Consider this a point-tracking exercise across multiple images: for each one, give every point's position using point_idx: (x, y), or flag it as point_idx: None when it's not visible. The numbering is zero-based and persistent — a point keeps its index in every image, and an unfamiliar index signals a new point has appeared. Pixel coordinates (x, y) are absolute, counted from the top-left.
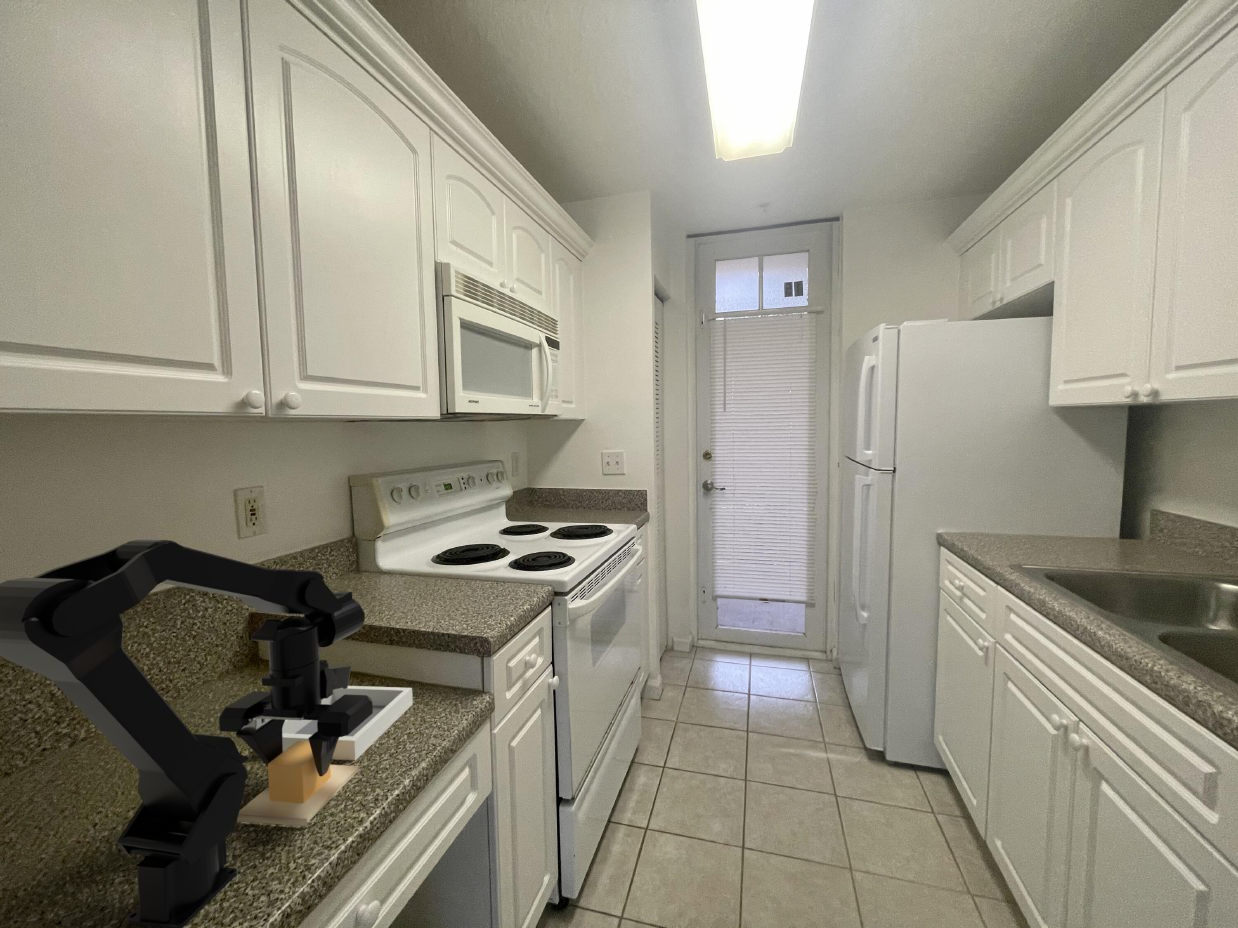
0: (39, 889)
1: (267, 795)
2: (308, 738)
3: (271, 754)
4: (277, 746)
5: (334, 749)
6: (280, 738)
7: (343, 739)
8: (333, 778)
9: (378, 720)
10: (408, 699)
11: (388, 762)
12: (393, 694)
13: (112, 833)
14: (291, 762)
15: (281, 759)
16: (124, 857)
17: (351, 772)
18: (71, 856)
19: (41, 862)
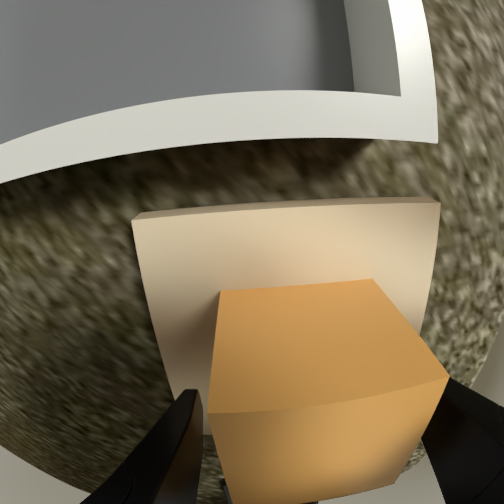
0: (62, 475)
1: (202, 384)
2: (97, 158)
3: (189, 490)
4: (178, 489)
5: (488, 401)
6: (159, 501)
7: (364, 130)
8: (387, 284)
9: None
10: None
11: (475, 127)
12: None
13: (8, 416)
14: (336, 491)
15: (270, 494)
16: (86, 457)
17: (433, 241)
18: (22, 442)
19: (9, 443)
